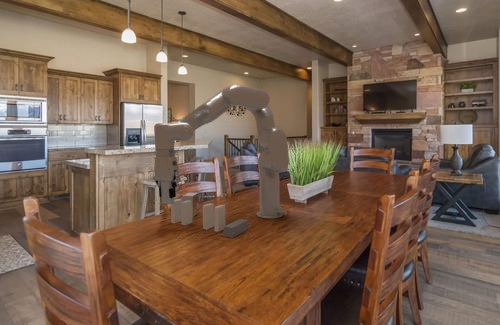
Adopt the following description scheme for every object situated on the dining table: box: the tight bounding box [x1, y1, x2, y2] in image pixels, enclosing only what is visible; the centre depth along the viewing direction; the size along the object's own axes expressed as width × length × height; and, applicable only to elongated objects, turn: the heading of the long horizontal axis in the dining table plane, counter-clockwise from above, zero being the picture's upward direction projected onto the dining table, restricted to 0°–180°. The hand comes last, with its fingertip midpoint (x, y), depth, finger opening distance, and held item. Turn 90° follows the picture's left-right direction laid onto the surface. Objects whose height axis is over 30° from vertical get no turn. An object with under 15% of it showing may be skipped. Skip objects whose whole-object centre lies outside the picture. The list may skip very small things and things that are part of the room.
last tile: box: [213, 204, 226, 233], centre depth 128 cm, size 2×5×10 cm, turn 150°
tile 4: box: [202, 202, 215, 231], centre depth 131 cm, size 2×5×10 cm, turn 150°
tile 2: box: [180, 200, 193, 226], centre depth 137 cm, size 2×5×10 cm, turn 150°
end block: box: [223, 218, 249, 239], centre depth 124 cm, size 4×12×4 cm, turn 150°
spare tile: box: [160, 181, 175, 206], centre depth 129 cm, size 2×5×10 cm, turn 60°
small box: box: [181, 192, 200, 218], centre depth 151 cm, size 8×6×10 cm
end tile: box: [170, 198, 182, 224], centre depth 140 cm, size 2×5×10 cm, turn 150°
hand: (167, 196), depth 129 cm, fingers closed on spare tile, 4 cm apart
